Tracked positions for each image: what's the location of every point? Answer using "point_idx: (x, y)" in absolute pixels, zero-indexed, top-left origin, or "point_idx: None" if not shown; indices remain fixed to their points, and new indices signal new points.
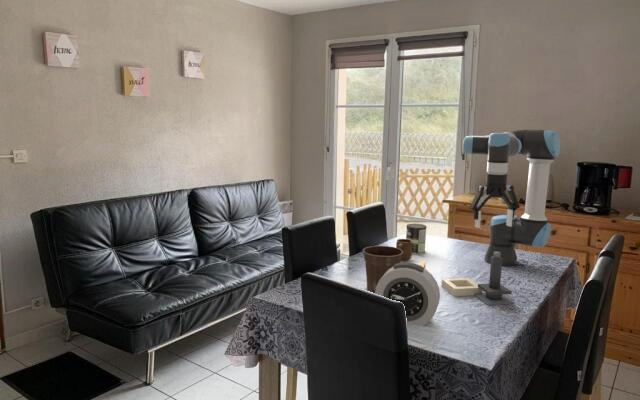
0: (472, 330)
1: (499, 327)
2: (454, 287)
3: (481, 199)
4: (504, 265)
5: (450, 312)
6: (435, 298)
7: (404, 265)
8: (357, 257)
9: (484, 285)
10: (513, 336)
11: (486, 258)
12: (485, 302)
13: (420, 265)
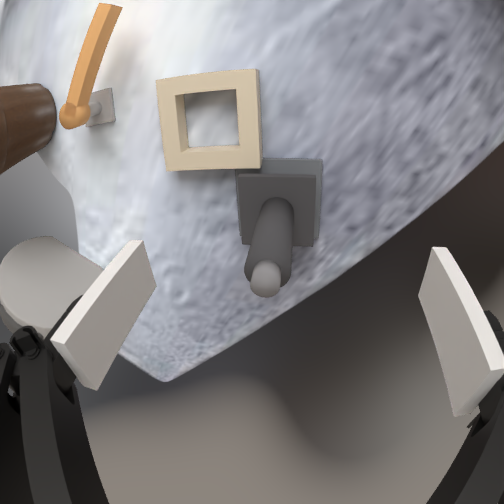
0: (167, 321)
1: (217, 322)
2: (170, 158)
3: (35, 475)
4: None
5: None
6: None
7: (13, 333)
8: None
9: (253, 191)
10: (225, 347)
11: None
12: (239, 225)
13: (85, 47)
